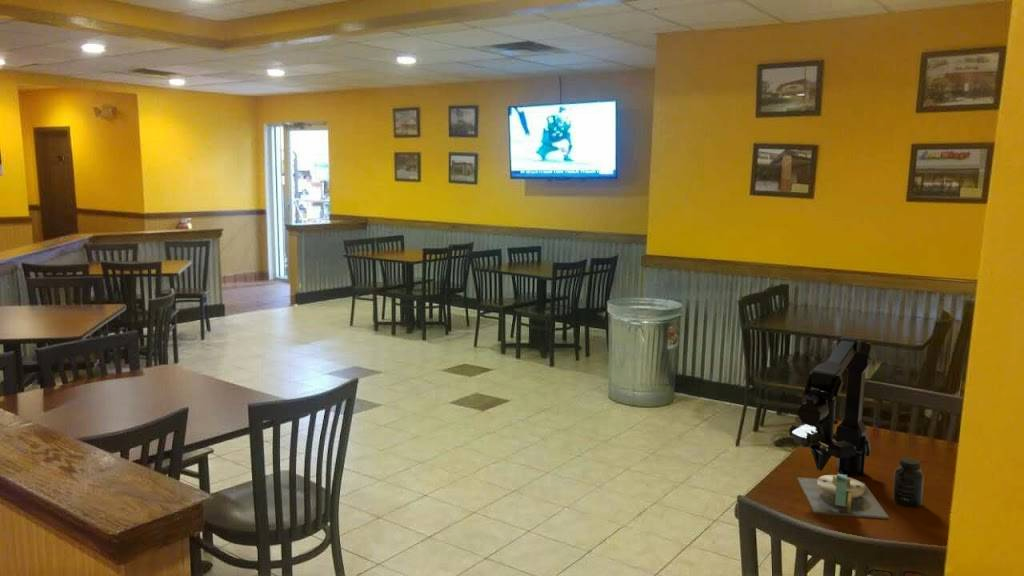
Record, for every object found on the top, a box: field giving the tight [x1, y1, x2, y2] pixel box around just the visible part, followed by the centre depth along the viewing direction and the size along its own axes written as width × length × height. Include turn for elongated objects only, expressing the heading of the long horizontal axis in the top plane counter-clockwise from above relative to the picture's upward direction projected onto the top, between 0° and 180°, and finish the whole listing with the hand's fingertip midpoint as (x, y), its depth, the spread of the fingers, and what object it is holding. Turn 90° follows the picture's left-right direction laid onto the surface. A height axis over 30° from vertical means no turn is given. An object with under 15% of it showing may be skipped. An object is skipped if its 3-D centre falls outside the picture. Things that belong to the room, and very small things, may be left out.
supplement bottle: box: [892, 457, 925, 509], centre depth 196 cm, size 7×7×12 cm
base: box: [796, 477, 890, 520], centre depth 199 cm, size 18×22×6 cm
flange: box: [817, 473, 866, 506], centre depth 196 cm, size 18×12×6 cm
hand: (819, 470), depth 198 cm, fingers closed
